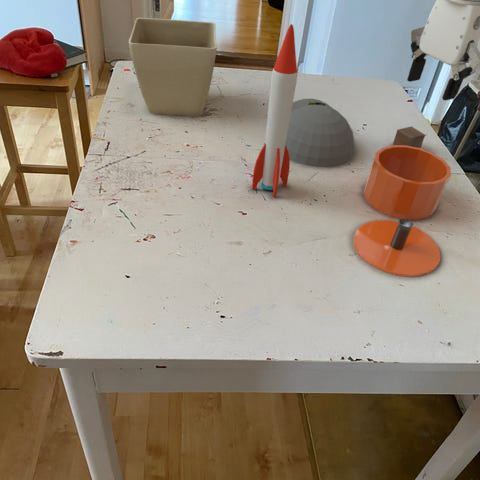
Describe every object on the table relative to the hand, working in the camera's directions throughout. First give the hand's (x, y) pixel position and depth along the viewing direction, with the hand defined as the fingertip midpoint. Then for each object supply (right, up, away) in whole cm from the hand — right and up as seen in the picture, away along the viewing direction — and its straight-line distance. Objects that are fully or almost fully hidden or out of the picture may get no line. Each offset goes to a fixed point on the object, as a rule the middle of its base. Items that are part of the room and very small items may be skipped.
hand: (430, 89), depth 96 cm
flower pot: (-55, +8, +24) cm, 61 cm away
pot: (-6, -22, +1) cm, 23 cm away
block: (+1, -6, +17) cm, 18 cm away
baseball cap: (-22, -5, +16) cm, 28 cm away
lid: (-10, -34, -10) cm, 37 cm away
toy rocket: (-33, -21, +1) cm, 39 cm away
